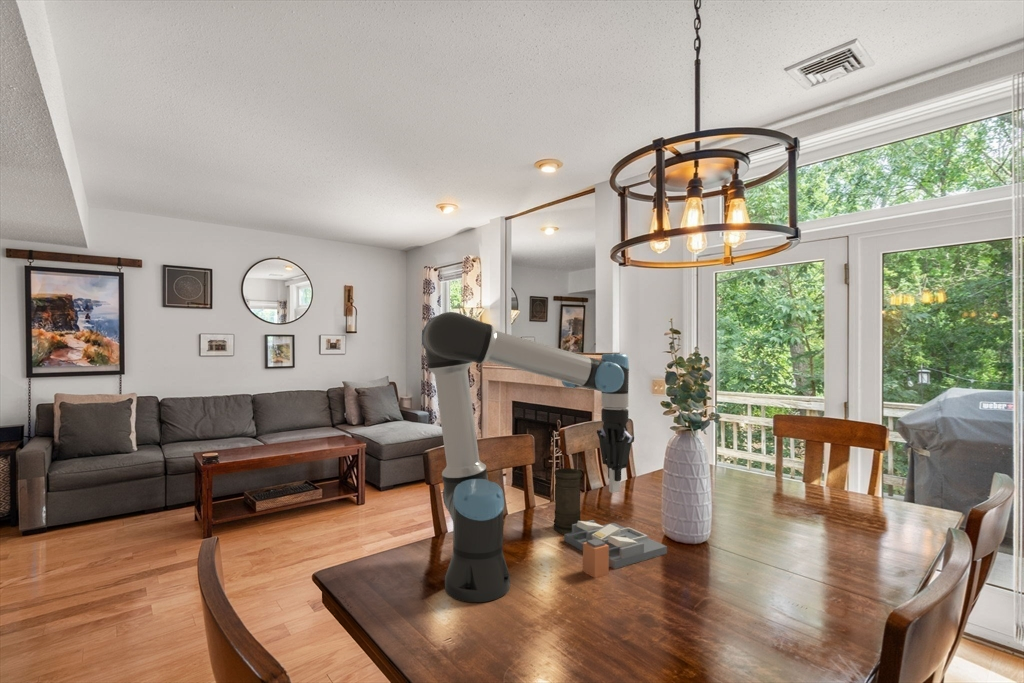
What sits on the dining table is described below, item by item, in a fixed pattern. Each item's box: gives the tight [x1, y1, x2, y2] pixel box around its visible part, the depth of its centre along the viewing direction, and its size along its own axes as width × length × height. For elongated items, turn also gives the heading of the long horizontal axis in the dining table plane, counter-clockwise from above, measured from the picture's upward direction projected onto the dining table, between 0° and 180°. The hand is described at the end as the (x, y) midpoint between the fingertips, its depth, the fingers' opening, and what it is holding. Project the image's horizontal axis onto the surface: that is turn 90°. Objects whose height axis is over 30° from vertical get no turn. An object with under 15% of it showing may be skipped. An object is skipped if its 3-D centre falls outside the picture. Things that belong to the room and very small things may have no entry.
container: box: [552, 467, 583, 535], centre depth 152 cm, size 9×9×18 cm
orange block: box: [582, 539, 610, 579], centre depth 123 cm, size 4×4×8 cm
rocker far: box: [577, 520, 604, 531], centre depth 143 cm, size 7×4×2 cm, turn 121°
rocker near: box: [608, 536, 638, 547], centre depth 131 cm, size 7×4×2 cm, turn 121°
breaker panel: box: [563, 519, 668, 570], centre depth 138 cm, size 19×21×4 cm
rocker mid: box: [592, 523, 621, 541], centre depth 137 cm, size 7×4×2 cm, turn 121°
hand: (614, 491), depth 139 cm, fingers closed
